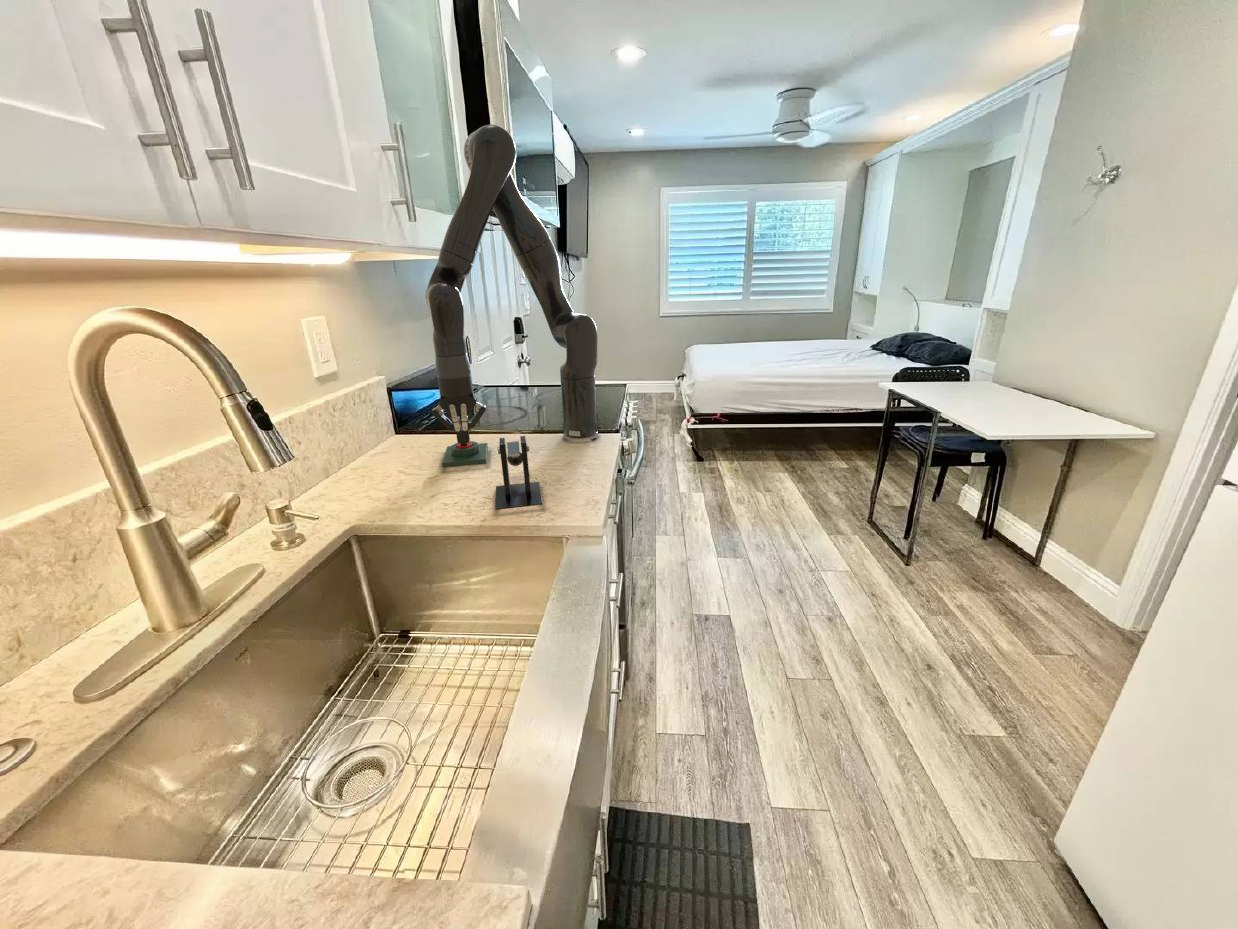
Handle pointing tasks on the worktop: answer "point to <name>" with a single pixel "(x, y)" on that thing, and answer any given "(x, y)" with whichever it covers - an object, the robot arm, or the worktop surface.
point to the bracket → (516, 492)
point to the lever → (514, 453)
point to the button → (464, 446)
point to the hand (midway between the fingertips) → (464, 444)
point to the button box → (465, 455)
